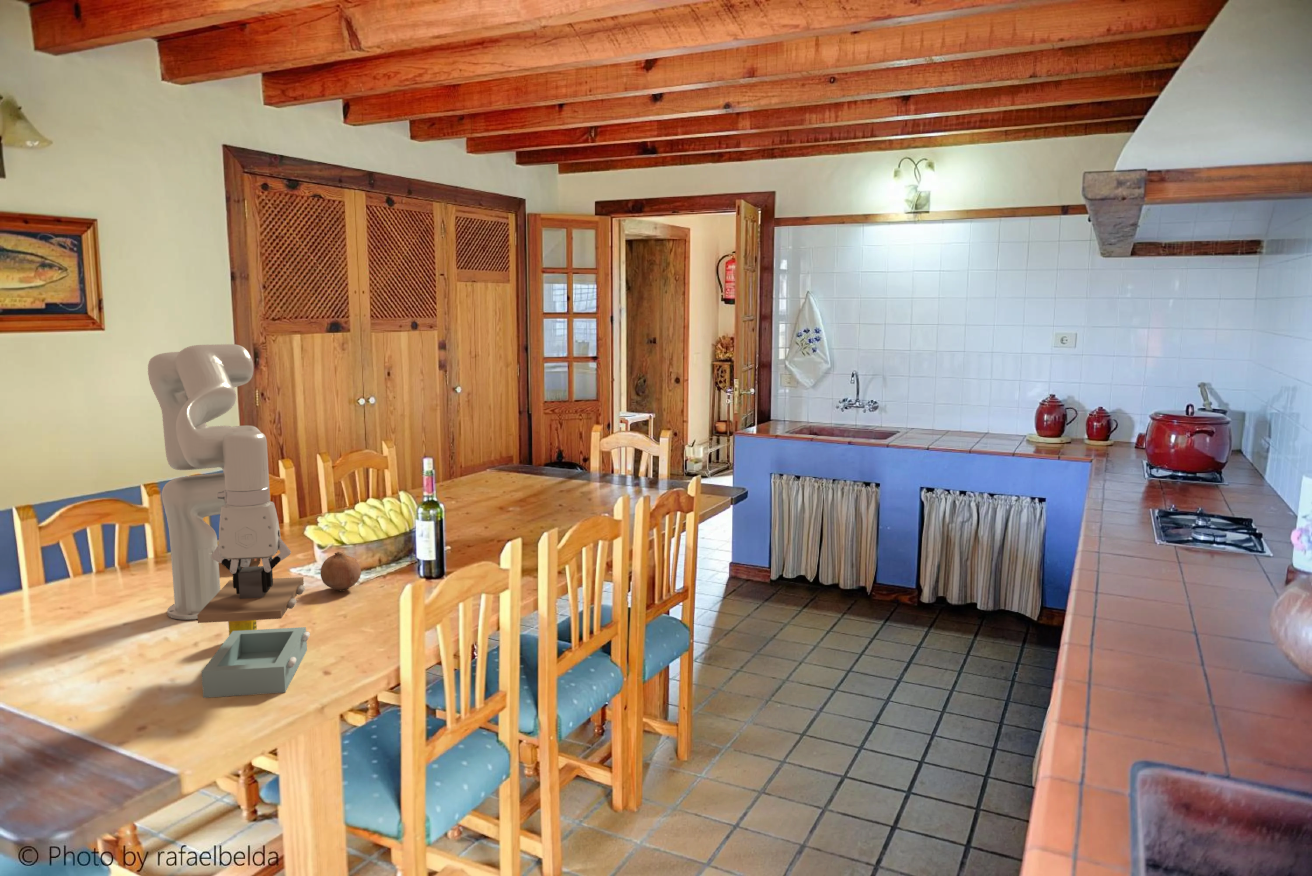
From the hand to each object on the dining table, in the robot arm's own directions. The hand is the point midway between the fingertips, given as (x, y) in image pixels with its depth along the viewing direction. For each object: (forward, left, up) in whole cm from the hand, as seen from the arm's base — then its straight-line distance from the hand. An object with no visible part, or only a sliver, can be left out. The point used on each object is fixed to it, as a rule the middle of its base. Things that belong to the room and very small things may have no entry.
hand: (253, 590), depth 167 cm
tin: (-73, -22, -17) cm, 78 cm away
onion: (-48, +8, -17) cm, 52 cm away
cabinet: (0, 0, -17) cm, 17 cm away
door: (0, 0, -2) cm, 2 cm away
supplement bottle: (-17, -7, -17) cm, 25 cm away
